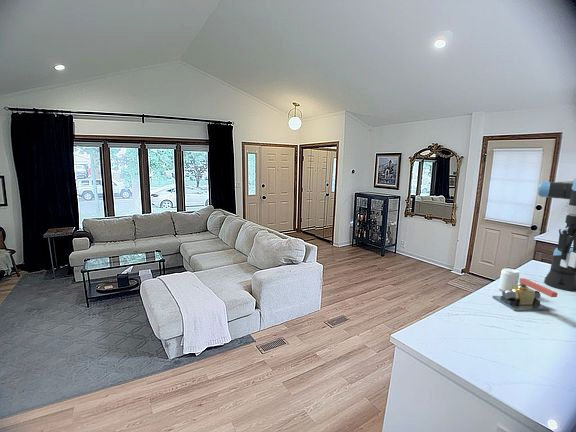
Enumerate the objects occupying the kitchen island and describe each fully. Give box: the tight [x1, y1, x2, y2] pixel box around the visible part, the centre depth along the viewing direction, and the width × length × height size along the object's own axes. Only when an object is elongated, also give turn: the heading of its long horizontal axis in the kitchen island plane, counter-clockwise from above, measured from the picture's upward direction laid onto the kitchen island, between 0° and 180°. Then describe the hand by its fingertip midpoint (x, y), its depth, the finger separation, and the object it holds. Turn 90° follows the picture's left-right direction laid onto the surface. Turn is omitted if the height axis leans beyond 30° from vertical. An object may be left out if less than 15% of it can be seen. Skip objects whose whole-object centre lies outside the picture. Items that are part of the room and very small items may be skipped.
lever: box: [518, 277, 558, 298], centre depth 142 cm, size 17×3×4 cm, turn 5°
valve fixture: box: [492, 284, 550, 312], centre depth 150 cm, size 18×14×10 cm
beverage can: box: [498, 267, 520, 292], centre depth 166 cm, size 8×8×12 cm
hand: (567, 266), depth 135 cm, fingers open, 3 cm apart
